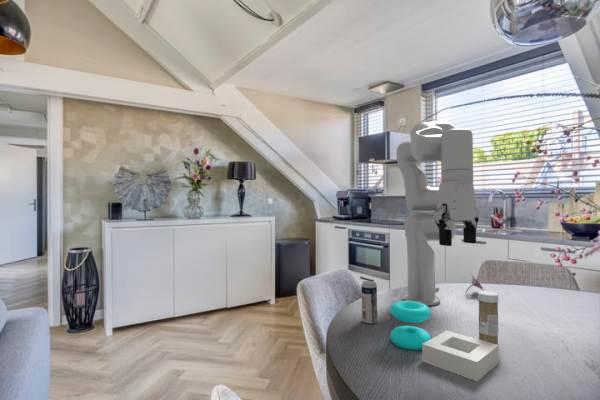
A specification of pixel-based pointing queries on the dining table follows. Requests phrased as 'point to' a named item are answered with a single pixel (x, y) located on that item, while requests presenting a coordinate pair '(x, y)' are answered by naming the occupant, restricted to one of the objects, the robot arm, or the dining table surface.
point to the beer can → (369, 302)
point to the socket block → (461, 354)
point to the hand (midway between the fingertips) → (457, 244)
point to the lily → (476, 282)
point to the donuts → (410, 334)
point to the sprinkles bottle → (488, 316)
